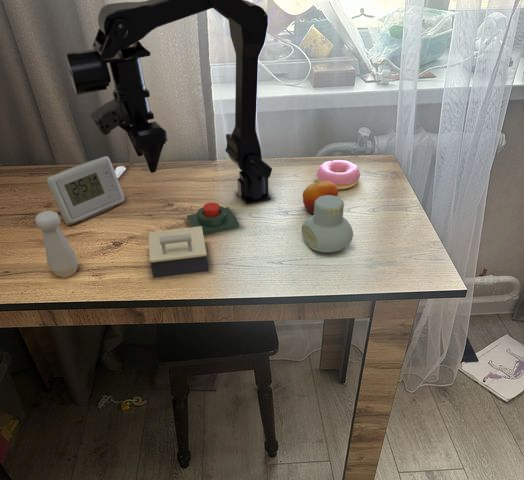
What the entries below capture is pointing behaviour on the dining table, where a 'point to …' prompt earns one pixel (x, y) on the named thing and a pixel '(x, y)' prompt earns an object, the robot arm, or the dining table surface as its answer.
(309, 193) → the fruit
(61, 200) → the digital clock
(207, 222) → the alarm box
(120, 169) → the spoon
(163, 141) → the robot arm
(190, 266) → the dark rimmed tray
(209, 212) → the alarm button
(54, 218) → the salt shaker
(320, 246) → the air freshener
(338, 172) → the doughnut
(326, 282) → the dining table surface
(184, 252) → the beige panel
